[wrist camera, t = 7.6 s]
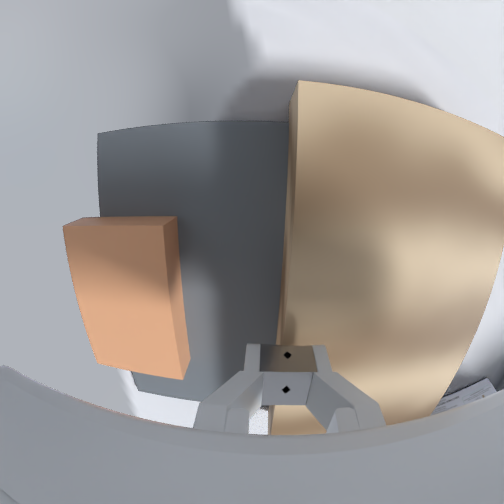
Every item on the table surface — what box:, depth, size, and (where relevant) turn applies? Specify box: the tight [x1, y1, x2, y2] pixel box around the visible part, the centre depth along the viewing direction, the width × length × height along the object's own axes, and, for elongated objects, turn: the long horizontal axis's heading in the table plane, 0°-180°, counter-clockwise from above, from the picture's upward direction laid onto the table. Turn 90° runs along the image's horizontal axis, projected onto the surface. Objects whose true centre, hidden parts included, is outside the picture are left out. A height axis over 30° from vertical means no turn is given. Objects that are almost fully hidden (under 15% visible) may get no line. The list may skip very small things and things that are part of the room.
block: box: [63, 216, 191, 380], centre depth 14 cm, size 9×6×2 cm, turn 179°
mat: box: [97, 121, 289, 407], centre depth 15 cm, size 18×10×1 cm, turn 178°
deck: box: [268, 80, 504, 435], centre depth 13 cm, size 20×11×4 cm, turn 178°
